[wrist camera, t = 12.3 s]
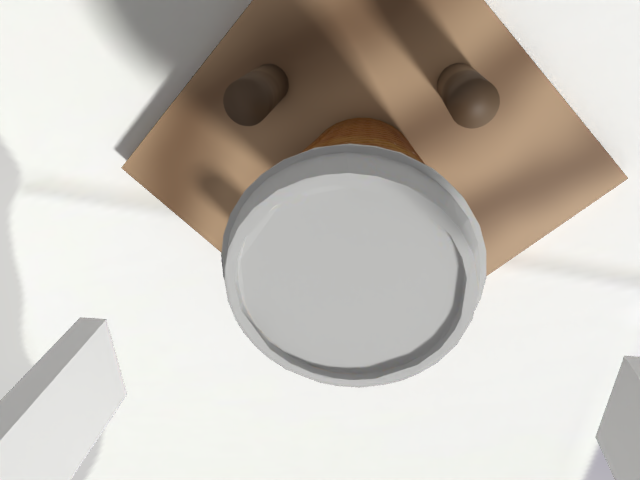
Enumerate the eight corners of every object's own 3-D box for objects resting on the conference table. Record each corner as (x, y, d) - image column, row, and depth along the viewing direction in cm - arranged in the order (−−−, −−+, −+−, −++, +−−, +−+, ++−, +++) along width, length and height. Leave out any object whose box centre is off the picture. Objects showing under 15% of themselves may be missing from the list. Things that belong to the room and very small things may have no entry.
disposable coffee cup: (485, 167, 26) (558, 289, 15) (366, 275, 30) (358, 432, 19) (353, 44, 24) (331, 87, 13) (244, 179, 28) (160, 295, 17)
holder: (619, 172, 26) (680, 217, 21) (356, 356, 34) (351, 423, 29) (366, -140, 21) (361, -184, 16) (129, 162, 29) (72, 200, 24)
